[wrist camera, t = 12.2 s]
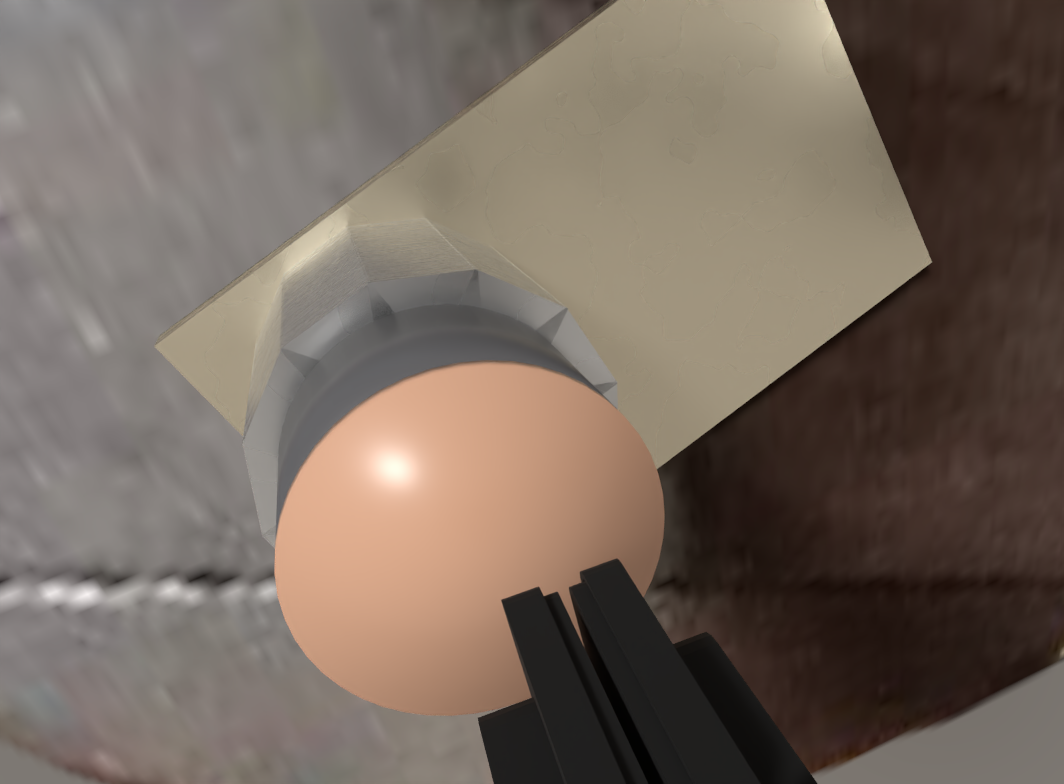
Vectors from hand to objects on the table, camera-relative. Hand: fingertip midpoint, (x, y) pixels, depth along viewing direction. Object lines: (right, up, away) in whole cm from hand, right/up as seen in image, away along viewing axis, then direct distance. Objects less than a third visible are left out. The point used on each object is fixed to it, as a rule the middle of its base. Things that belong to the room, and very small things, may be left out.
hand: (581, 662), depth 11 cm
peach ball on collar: (-3, +3, +9) cm, 10 cm away
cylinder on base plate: (+1, +7, +15) cm, 16 cm away
